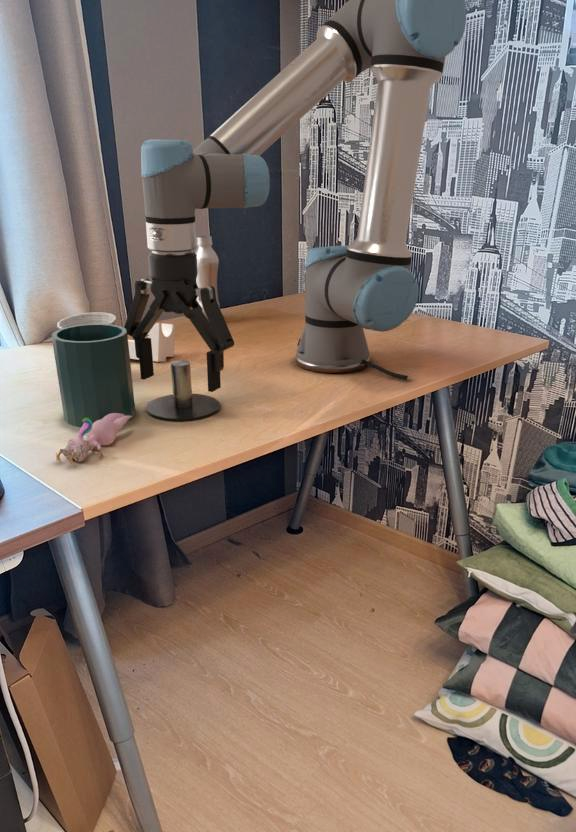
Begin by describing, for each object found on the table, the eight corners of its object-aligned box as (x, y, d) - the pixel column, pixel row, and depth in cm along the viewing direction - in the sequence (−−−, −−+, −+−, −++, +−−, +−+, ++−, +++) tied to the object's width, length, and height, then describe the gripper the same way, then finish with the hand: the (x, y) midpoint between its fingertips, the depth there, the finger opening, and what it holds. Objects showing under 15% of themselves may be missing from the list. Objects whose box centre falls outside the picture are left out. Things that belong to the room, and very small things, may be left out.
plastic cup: (54, 381, 138) (44, 318, 133) (102, 369, 145) (94, 309, 140) (86, 394, 132) (77, 329, 126) (134, 380, 139) (128, 318, 133)
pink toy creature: (83, 477, 104) (145, 428, 114) (73, 442, 101) (138, 394, 111) (51, 469, 107) (114, 421, 117) (40, 434, 103) (106, 388, 113)
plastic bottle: (207, 316, 184) (203, 233, 175) (226, 321, 181) (223, 236, 171) (189, 321, 180) (183, 236, 170) (208, 325, 176) (204, 239, 167)
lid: (233, 406, 127) (232, 358, 123) (194, 430, 117) (190, 378, 113) (174, 395, 132) (170, 348, 128) (131, 417, 122) (126, 367, 118)
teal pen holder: (149, 412, 124) (141, 328, 117) (105, 436, 114) (93, 346, 108) (96, 402, 128) (86, 320, 121) (50, 424, 119) (35, 336, 112)
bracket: (173, 360, 153) (174, 324, 152) (157, 361, 147) (159, 323, 145) (119, 355, 157) (120, 319, 155) (101, 355, 150) (102, 318, 149)
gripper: (93, 247, 114) (107, 378, 124) (228, 261, 104) (232, 401, 114) (123, 242, 120) (134, 366, 130) (254, 254, 110) (255, 388, 120)
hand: (180, 383), depth 122 cm, fingers open, 13 cm apart
